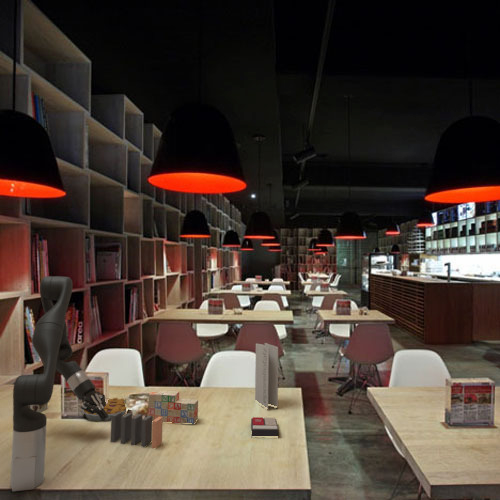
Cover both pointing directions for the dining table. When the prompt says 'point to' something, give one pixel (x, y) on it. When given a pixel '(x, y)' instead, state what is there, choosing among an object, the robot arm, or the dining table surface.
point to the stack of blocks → (172, 407)
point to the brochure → (266, 374)
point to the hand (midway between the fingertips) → (105, 418)
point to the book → (264, 426)
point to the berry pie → (109, 409)
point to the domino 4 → (146, 431)
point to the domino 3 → (136, 429)
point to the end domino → (157, 432)
